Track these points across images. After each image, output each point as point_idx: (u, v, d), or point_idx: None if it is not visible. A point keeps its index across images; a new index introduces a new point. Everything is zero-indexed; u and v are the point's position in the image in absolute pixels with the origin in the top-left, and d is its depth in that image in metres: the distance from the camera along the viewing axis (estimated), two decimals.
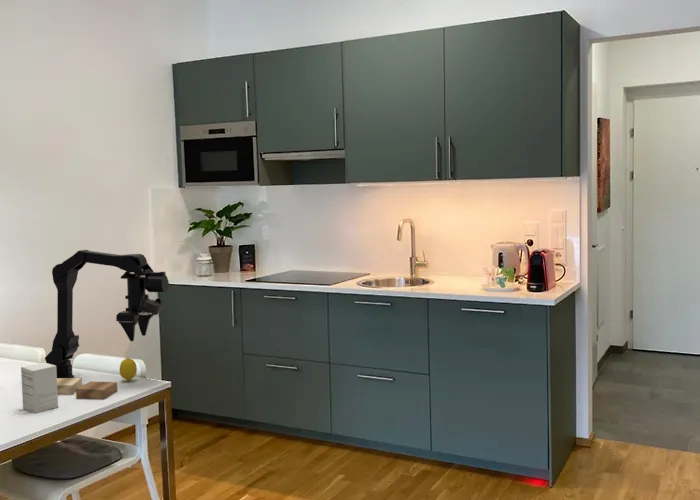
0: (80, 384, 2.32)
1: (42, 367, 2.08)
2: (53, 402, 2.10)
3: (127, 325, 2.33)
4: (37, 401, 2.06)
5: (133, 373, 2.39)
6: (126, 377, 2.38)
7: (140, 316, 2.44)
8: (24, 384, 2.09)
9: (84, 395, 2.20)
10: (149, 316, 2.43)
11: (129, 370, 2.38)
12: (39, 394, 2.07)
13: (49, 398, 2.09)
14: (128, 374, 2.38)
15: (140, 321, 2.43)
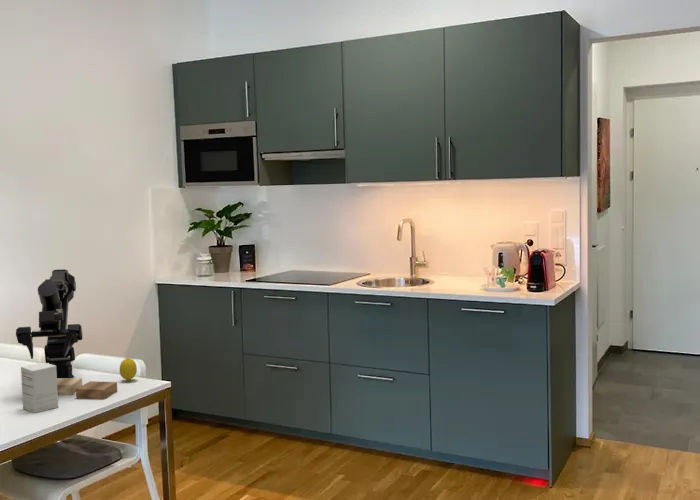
0: (80, 384, 2.32)
1: (42, 367, 2.08)
2: (53, 402, 2.10)
3: None
4: (37, 401, 2.06)
5: (133, 373, 2.39)
6: (126, 377, 2.38)
7: None
8: (24, 384, 2.09)
9: (84, 395, 2.20)
10: None
11: (129, 370, 2.38)
12: (39, 394, 2.07)
13: (49, 398, 2.09)
14: (128, 374, 2.38)
15: None
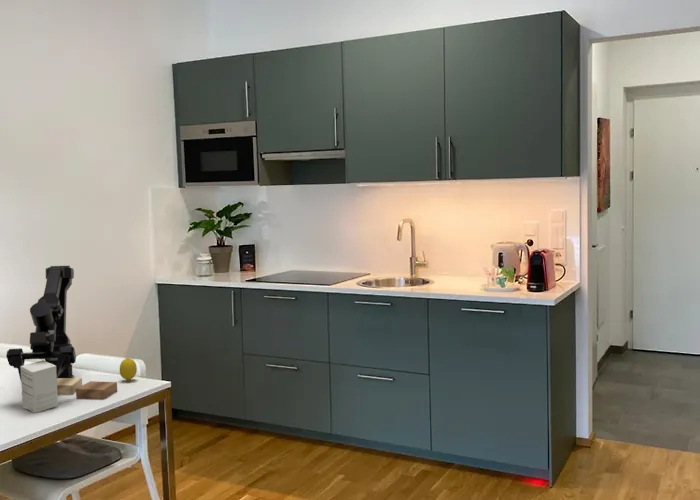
0: (80, 384, 2.32)
1: (42, 367, 2.07)
2: (52, 401, 2.10)
3: None
4: (37, 401, 2.06)
5: (133, 373, 2.39)
6: (126, 377, 2.38)
7: None
8: (23, 383, 2.08)
9: (84, 395, 2.20)
10: None
11: (129, 370, 2.38)
12: (39, 394, 2.06)
13: (49, 397, 2.09)
14: (128, 374, 2.38)
15: None
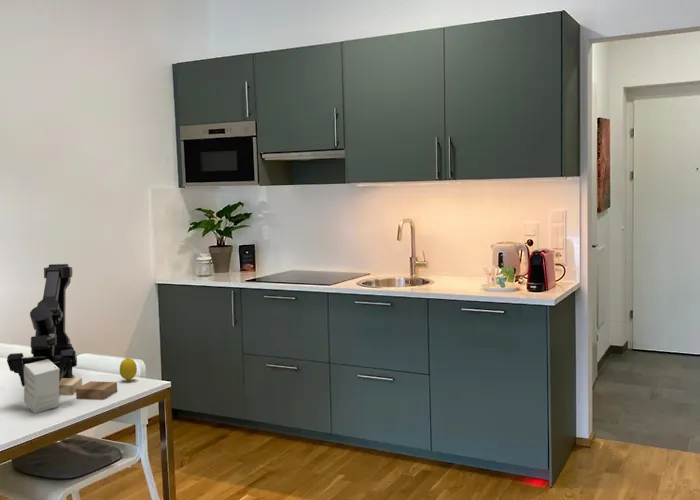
0: (80, 384, 2.32)
1: (45, 369, 2.05)
2: (53, 402, 2.09)
3: None
4: (37, 402, 2.05)
5: (133, 373, 2.39)
6: (126, 377, 2.38)
7: None
8: (26, 382, 2.07)
9: (84, 395, 2.20)
10: None
11: (129, 370, 2.38)
12: (40, 396, 2.05)
13: (50, 398, 2.08)
14: (128, 374, 2.38)
15: None
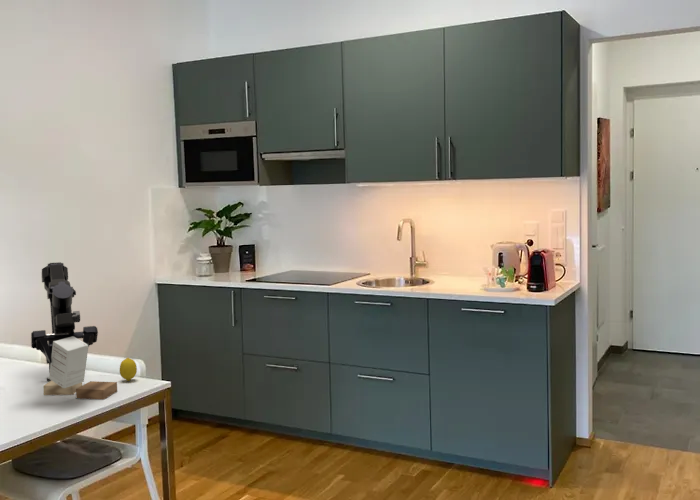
0: (80, 384, 2.32)
1: (75, 346, 2.11)
2: (80, 377, 2.15)
3: (44, 348, 2.15)
4: (67, 378, 2.11)
5: (133, 373, 2.39)
6: (126, 377, 2.38)
7: None
8: (54, 358, 2.11)
9: (84, 395, 2.20)
10: (83, 336, 2.18)
11: (129, 370, 2.38)
12: (70, 371, 2.11)
13: (78, 374, 2.14)
14: (128, 374, 2.38)
15: None
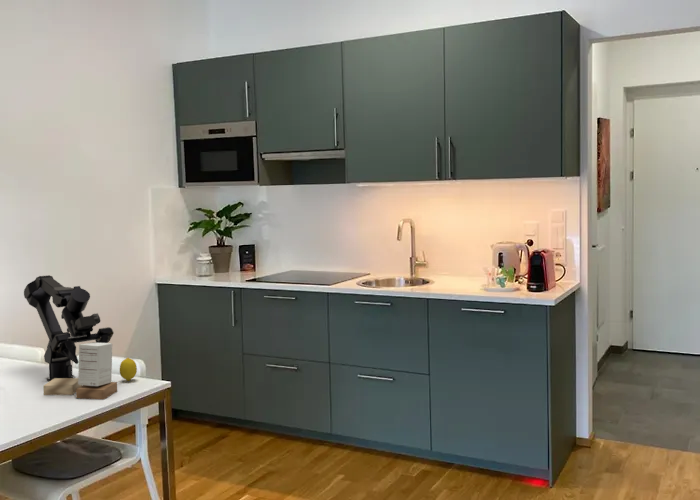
0: None
1: (102, 344, 2.24)
2: (108, 377, 2.25)
3: (67, 350, 2.24)
4: (99, 375, 2.21)
5: (133, 373, 2.39)
6: (126, 377, 2.38)
7: None
8: (82, 360, 2.21)
9: (84, 395, 2.20)
10: (101, 337, 2.31)
11: (129, 370, 2.38)
12: (101, 368, 2.21)
13: (107, 373, 2.24)
14: (128, 374, 2.38)
15: None
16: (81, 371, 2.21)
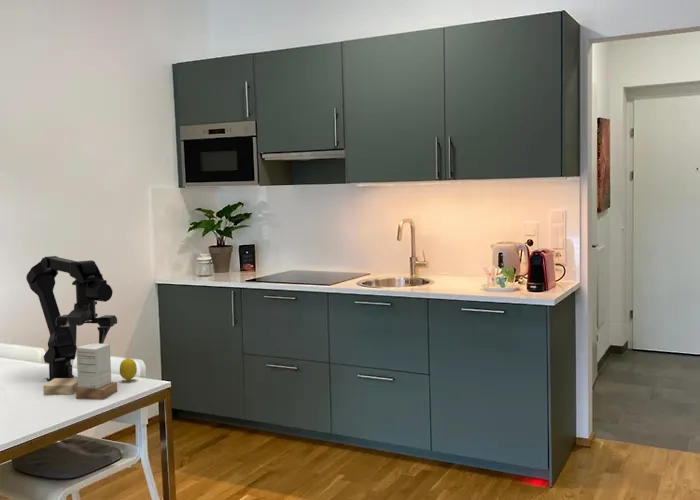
0: None
1: (99, 346, 2.22)
2: (108, 378, 2.25)
3: None
4: (99, 377, 2.20)
5: (133, 373, 2.39)
6: (126, 377, 2.38)
7: None
8: (81, 363, 2.21)
9: (84, 395, 2.20)
10: None
11: (129, 370, 2.38)
12: (100, 371, 2.21)
13: (106, 374, 2.24)
14: (128, 374, 2.38)
15: None
16: (80, 374, 2.21)
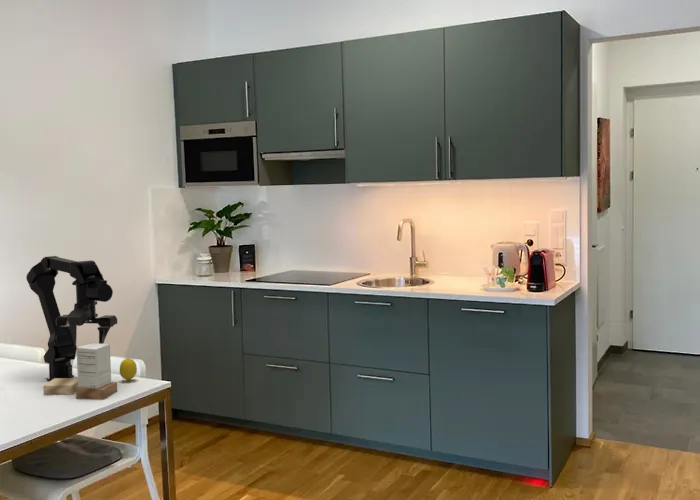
0: None
1: (99, 346, 2.22)
2: (108, 378, 2.25)
3: None
4: (99, 377, 2.20)
5: (133, 373, 2.39)
6: (126, 377, 2.38)
7: None
8: (81, 363, 2.21)
9: (84, 395, 2.20)
10: None
11: (129, 370, 2.38)
12: (100, 371, 2.21)
13: (106, 374, 2.24)
14: (128, 374, 2.38)
15: None
16: (80, 374, 2.21)
